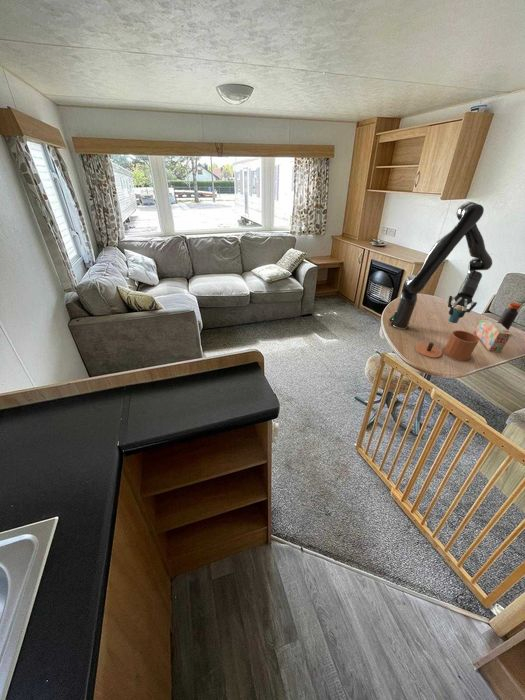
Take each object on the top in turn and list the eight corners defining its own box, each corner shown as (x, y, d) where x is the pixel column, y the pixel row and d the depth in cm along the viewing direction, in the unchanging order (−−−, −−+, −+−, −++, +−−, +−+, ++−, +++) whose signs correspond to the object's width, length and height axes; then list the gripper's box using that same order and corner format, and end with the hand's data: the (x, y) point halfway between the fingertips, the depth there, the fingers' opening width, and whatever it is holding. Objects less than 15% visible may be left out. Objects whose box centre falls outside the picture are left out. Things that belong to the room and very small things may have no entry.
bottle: (506, 332, 184) (523, 304, 173) (504, 336, 180) (522, 307, 169) (493, 328, 188) (509, 300, 176) (491, 332, 184) (508, 304, 172)
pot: (441, 354, 160) (450, 336, 154) (446, 345, 169) (454, 328, 162) (466, 363, 154) (477, 345, 147) (470, 353, 162) (480, 335, 156)
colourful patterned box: (474, 332, 183) (483, 315, 176) (484, 333, 182) (494, 316, 175) (488, 350, 166) (499, 332, 159) (500, 352, 165) (512, 334, 158)
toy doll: (447, 321, 163) (454, 305, 157) (449, 318, 166) (456, 302, 160) (456, 324, 160) (464, 308, 155) (458, 321, 164) (465, 305, 158)
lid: (412, 352, 162) (415, 343, 158) (418, 342, 170) (421, 334, 167) (438, 361, 155) (442, 353, 152) (443, 351, 164) (447, 342, 161)
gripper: (454, 282, 161) (442, 309, 160) (484, 289, 154) (471, 317, 153) (452, 288, 167) (440, 314, 166) (481, 295, 160) (468, 322, 159)
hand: (455, 315), depth 159 cm, fingers closed on toy doll, 4 cm apart
